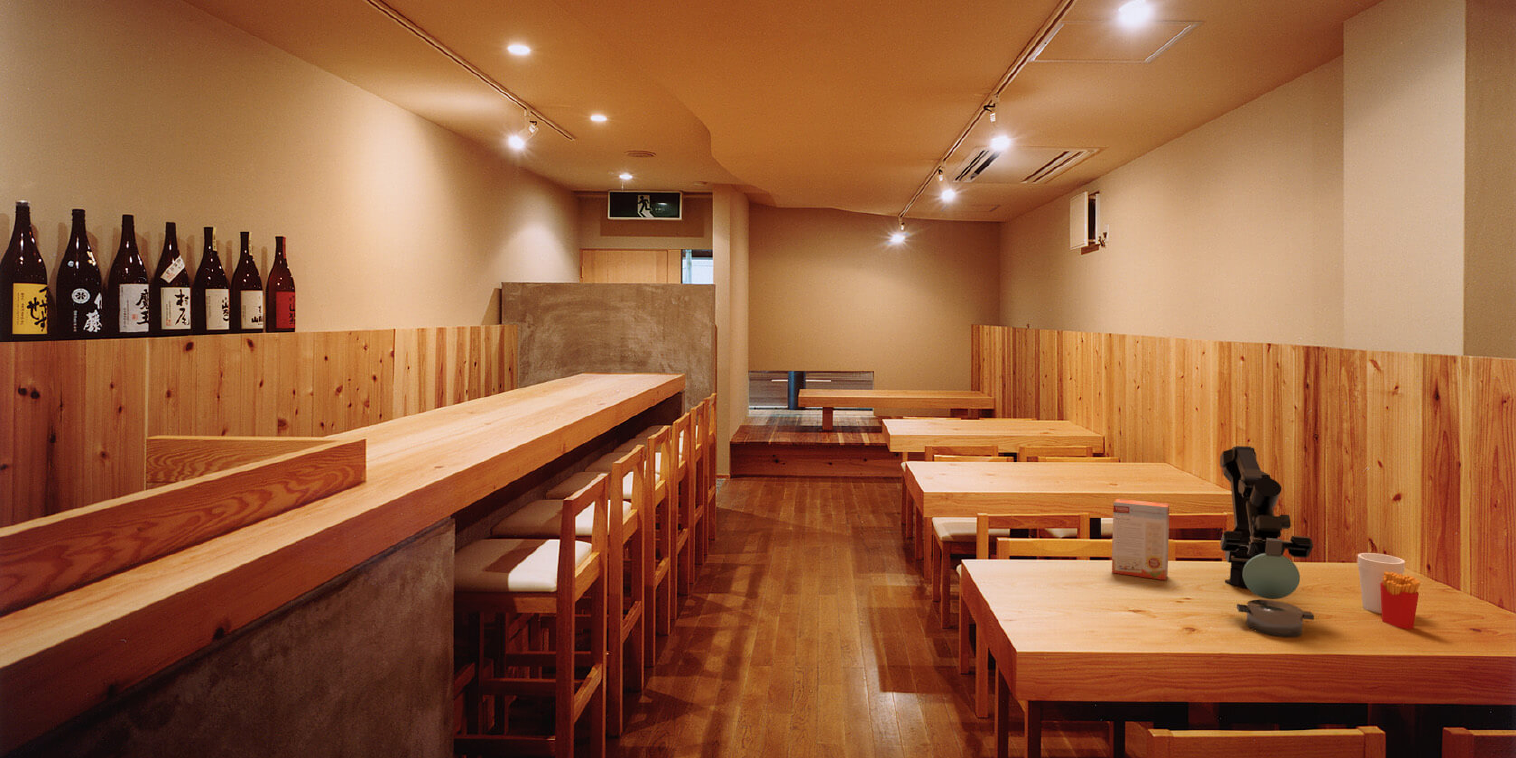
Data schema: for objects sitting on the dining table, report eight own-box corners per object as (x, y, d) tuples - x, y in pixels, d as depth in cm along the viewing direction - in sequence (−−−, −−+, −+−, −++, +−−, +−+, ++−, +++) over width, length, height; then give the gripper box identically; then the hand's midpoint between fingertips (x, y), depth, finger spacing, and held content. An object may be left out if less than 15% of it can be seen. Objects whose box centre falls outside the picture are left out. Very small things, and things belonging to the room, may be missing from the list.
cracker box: (1167, 575, 230) (1170, 503, 228) (1165, 581, 225) (1167, 507, 223) (1114, 567, 237) (1116, 497, 236) (1111, 573, 232) (1113, 501, 231)
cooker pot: (1232, 615, 198) (1232, 595, 198) (1303, 623, 193) (1304, 602, 193) (1242, 632, 187) (1242, 611, 187) (1318, 641, 182) (1319, 619, 182)
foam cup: (1389, 618, 196) (1392, 565, 195) (1347, 606, 204) (1349, 556, 203) (1410, 611, 200) (1412, 560, 200) (1367, 600, 209) (1370, 551, 208)
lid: (1241, 596, 196) (1240, 593, 198) (1297, 601, 192) (1296, 599, 194) (1246, 538, 193) (1245, 536, 194) (1303, 543, 189) (1302, 540, 190)
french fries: (1374, 618, 196) (1377, 569, 195) (1389, 617, 197) (1391, 569, 196) (1408, 631, 188) (1410, 580, 187) (1422, 630, 188) (1425, 579, 188)
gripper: (1224, 498, 201) (1231, 554, 192) (1312, 504, 195) (1324, 562, 185) (1217, 522, 209) (1223, 577, 199) (1302, 528, 202) (1313, 585, 193)
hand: (1270, 574), depth 194 cm, fingers closed, pressing on lid
